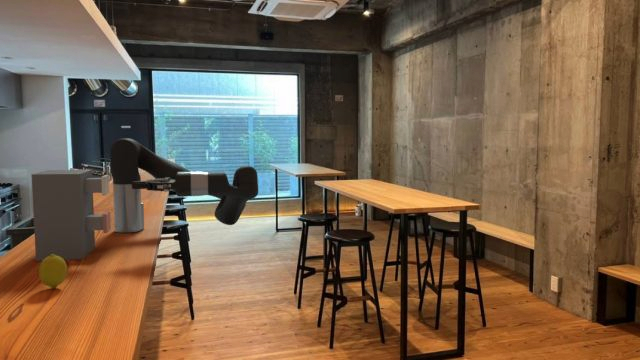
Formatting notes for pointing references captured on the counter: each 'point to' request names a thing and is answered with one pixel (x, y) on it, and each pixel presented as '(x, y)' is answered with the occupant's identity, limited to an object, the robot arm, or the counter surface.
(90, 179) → the upper plunger
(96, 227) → the lower plunger
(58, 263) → the lemon
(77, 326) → the counter surface
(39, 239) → the grey dispenser box
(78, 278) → the counter surface
